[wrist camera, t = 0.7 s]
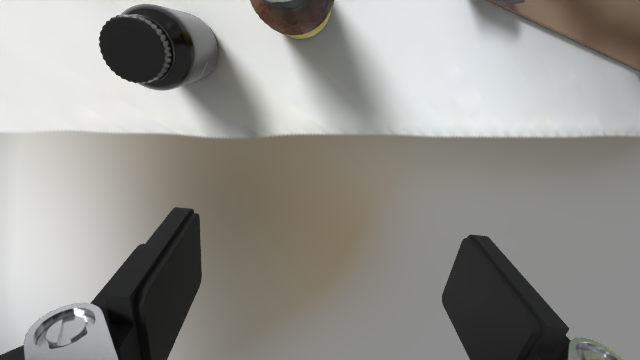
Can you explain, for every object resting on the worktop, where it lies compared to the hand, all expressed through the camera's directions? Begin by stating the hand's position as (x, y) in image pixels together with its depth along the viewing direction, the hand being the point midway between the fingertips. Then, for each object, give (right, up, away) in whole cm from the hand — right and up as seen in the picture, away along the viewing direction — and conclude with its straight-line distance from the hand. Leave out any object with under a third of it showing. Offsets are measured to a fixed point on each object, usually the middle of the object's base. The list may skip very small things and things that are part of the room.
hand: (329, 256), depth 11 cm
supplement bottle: (-15, +17, +23) cm, 32 cm away
